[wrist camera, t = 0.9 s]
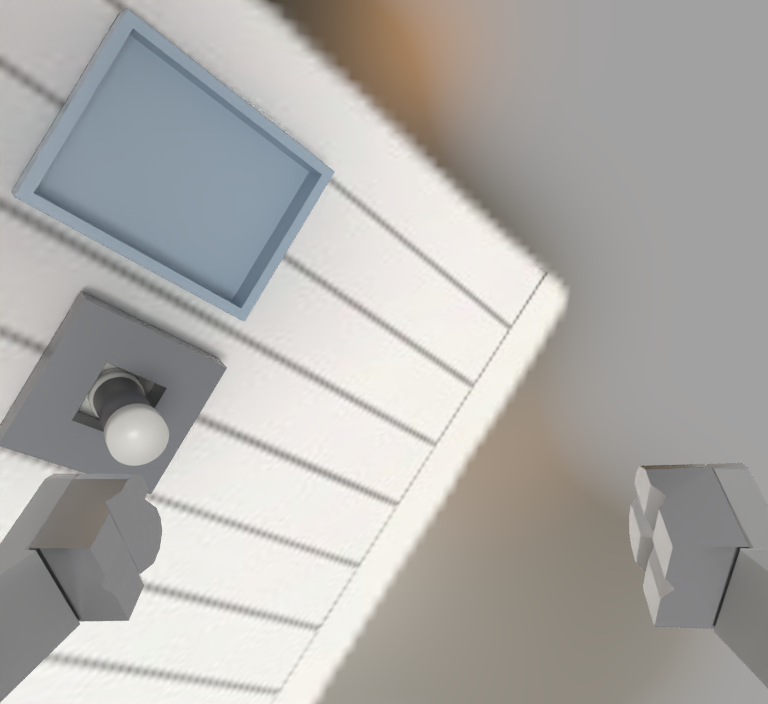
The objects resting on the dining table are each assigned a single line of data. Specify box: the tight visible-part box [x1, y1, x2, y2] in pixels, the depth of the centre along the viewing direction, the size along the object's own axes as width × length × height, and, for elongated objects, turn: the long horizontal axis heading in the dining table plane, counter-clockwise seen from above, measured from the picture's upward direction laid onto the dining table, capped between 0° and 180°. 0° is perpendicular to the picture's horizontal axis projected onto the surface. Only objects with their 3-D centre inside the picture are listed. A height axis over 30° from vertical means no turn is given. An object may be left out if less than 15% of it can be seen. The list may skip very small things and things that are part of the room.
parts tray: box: [12, 9, 334, 322], centre depth 49 cm, size 18×14×3 cm
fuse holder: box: [0, 292, 227, 494], centre depth 51 cm, size 12×12×2 cm
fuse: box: [87, 368, 169, 466], centre depth 49 cm, size 4×4×9 cm
